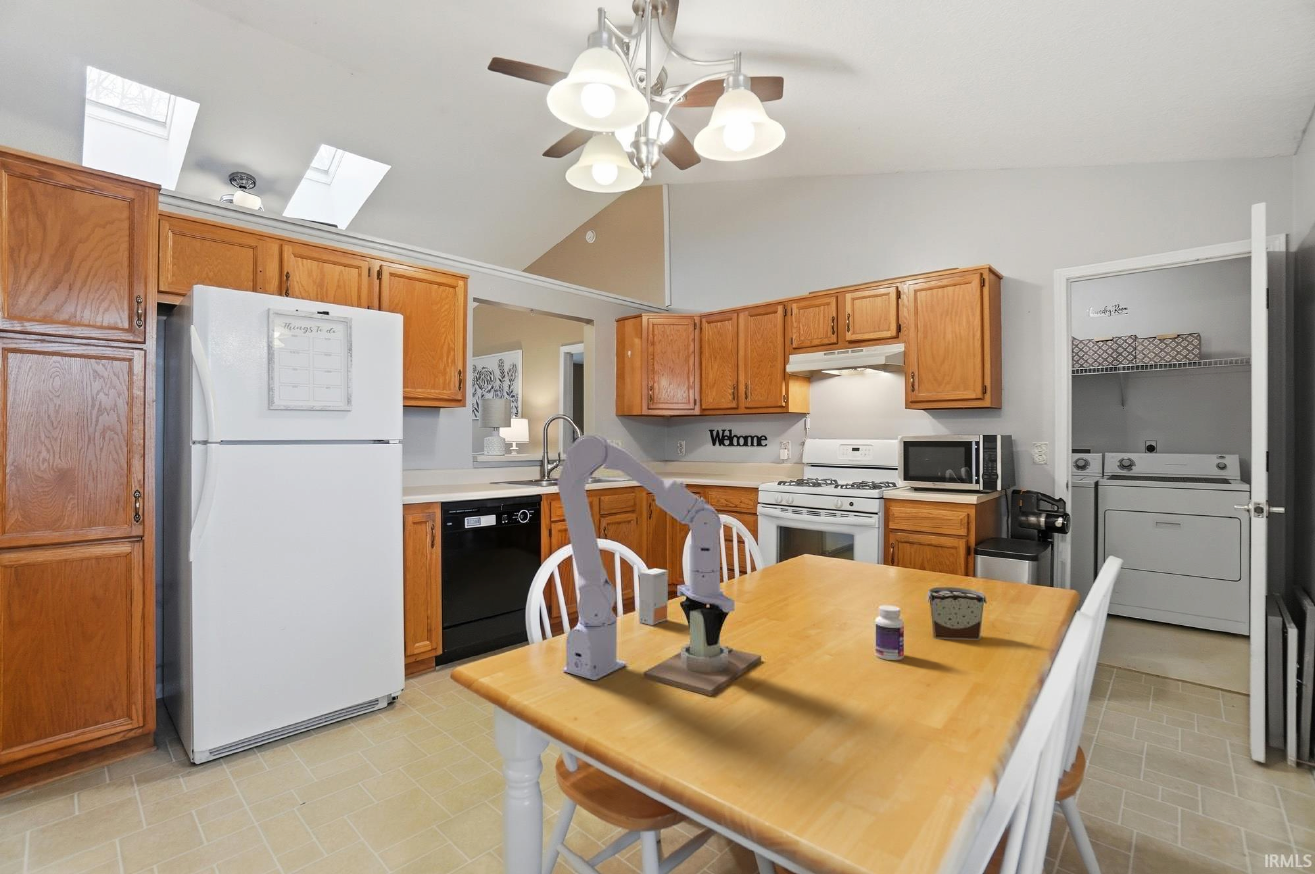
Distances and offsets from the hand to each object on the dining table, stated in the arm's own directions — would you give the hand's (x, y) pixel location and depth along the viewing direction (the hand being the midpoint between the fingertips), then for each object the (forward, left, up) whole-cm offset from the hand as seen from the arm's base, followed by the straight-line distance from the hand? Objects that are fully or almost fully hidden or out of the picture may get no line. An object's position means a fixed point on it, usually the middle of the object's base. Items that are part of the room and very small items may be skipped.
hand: (704, 641), depth 115 cm
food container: (+49, -35, -5) cm, 60 cm away
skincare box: (+19, +25, -5) cm, 32 cm away
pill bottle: (+27, -27, -5) cm, 39 cm away
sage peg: (0, 0, -2) cm, 2 cm away
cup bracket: (0, 0, -5) cm, 5 cm away
